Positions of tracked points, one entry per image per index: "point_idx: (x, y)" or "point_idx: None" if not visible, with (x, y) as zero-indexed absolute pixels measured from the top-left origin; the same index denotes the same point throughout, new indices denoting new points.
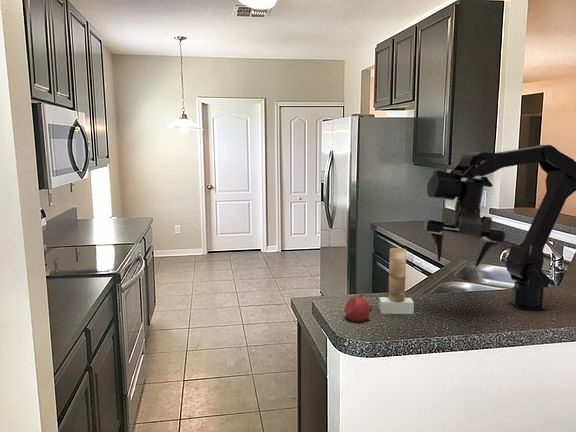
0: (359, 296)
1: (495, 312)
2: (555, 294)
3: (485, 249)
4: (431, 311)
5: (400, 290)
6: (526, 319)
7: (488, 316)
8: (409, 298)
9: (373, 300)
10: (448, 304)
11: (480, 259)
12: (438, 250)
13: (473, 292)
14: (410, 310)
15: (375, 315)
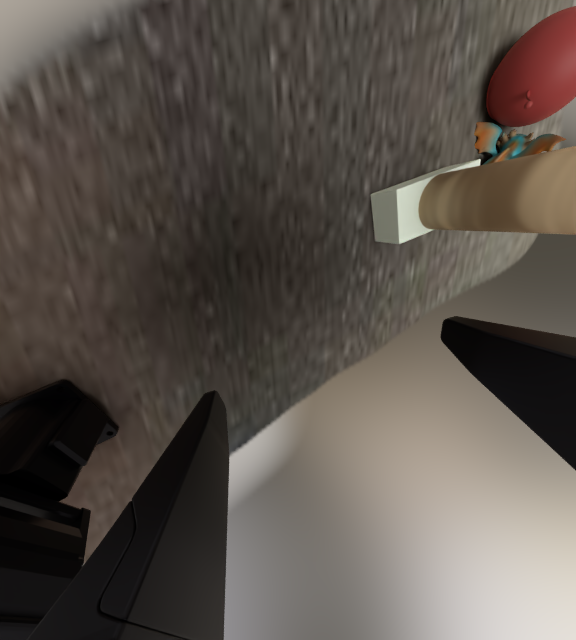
0: (552, 135)
1: (141, 318)
2: None
3: (75, 618)
4: (324, 244)
5: (475, 168)
6: (3, 288)
7: (154, 265)
8: (403, 234)
9: (529, 99)
10: (284, 328)
11: (177, 442)
12: (557, 337)
13: (233, 447)
14: (385, 190)
15: (459, 144)
